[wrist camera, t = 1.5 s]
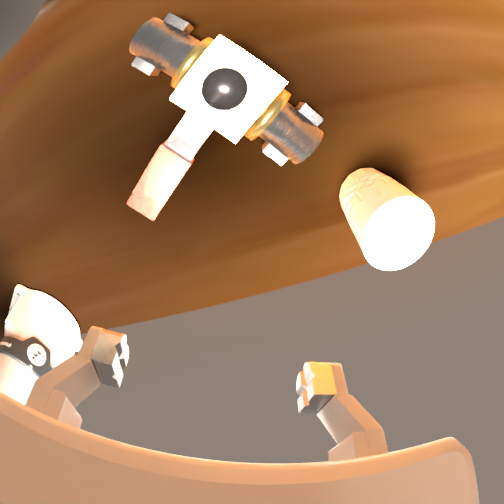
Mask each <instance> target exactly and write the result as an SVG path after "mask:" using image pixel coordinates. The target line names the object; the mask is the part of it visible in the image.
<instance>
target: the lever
mask: <svg viewBox="0 0 504 504" xmlns="http://www.w3.org/2000/svg"><path fill="white" fill-rule="evenodd" d="M201 91H202V92H201V93H200V94H199V96H198V97H197V98H196V100H195V101H194V103H193V104H192V105H191V107H190V108H189V109H188V111H187V112H186V114H185V115H184V116H183V118H182V119H181V121H180V122H179V124H178V125H177V126H176V128H175V129H174V131H173V132H172V134H171V135H170V137H169V138H168V140H166V141H165V142H164V143H162V144H161V145H160V147H159V148H158V150H157V152H156V153H155V155H154V156H153V158H152V160H151V161H150V163H149V165H148V166H147V168H146V170H145V171H144V173H143V175H142V176H141V178H140V180H139V182H138V183H137V185H136V187H135V189H134V191H133V192H132V194H131V196H130V198H129V200H128V202H127V203H126V204H127V205H129V206H130V207H132V208H133V209H135V210H136V211H138V212H140V213H141V214H143V215H144V216H146V217H147V218H149V219H150V220H152V221H154V220H155V218H156V216H157V215H158V213H159V212H160V210H161V209H162V207H163V206H164V204H165V202H166V201H167V199H168V198H169V196H170V195H171V193H172V192H173V190H174V189H175V187H176V186H177V184H178V183H179V181H180V180H181V179H182V177H183V176H184V174H185V173H186V171H187V170H188V168H189V167H190V166H191V164H192V163H193V161H194V160H195V158H193V157H194V155H195V154H196V153H197V151H198V150H199V149H200V147H201V146H202V144H203V143H204V142H205V140H206V139H207V138H208V136H209V135H210V134H211V132H212V131H213V130H214V128H215V127H216V126H217V125H218V123H219V122H220V121H221V119H222V118H223V117H224V116H225V114H226V113H227V112H228V111H229V110H231V109H234V108H236V107H237V106H239V105H240V104H241V103H242V102H243V101H244V100H245V98H246V95H247V92H248V85H247V81H246V79H245V78H244V76H243V75H242V74H241V73H240V72H238V71H237V70H235V69H232V68H218V69H216V70H213V71H212V72H210V73H209V74H208V75H207V76H206V77H205V79H204V81H203V83H202V88H201Z"/></svg>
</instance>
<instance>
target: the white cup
mask: <svg viewBox="0 0 504 504" xmlns="http://www.w3.org/2000/svg"><path fill="white" fill-rule="evenodd" d="M339 199H340V203H341V207H342V209H343V211H344V213H345V215H346V218H347V220H348V222H349V224H350V227H351V229H352V231H353V233H354V235H355V237H356V239H357V241H358V243H359V245H360V247H361V249H362V252H363V254H364V256H365V258H366V259H367V261H368V262H369V263H370V264H371V265H372V266H374V267H376V268H378V269H381V270H386V271H393V270H398V269H402V268H404V267H407V266H409V265H410V264H412V263H413V262H415V261H416V260H417V259H418V258H420V257H421V256H422V255H423V253H424V252H425V251H426V249H427V248H428V246H429V245H430V243H431V240H432V238H433V234H434V229H435V220H434V215H433V212H432V210H431V208H430V207H429V206H428V204H427V203H425V202H424V201H423V200H422V199H420V198H419V197H418V196H416V195H415V194H414V193H412V192H411V191H410V190H408V189H407V188H406V187H404V186H403V185H401V184H400V183H398V182H397V181H395V180H394V179H392V178H391V177H389V176H387V175H385V174H384V173H382V172H380V171H378V170H376V169H374V168H360V169H358V170H356V171H354V172H353V173H351V174H349V175H348V177H347V178H346V179H345V181H344V182H343V183H342V185H341V190H340V194H339Z"/></svg>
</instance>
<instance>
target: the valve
mask: <svg viewBox="0 0 504 504" xmlns="http://www.w3.org/2000/svg"><path fill="white" fill-rule="evenodd" d="M193 29H194V27H193V26H192V25H191V24H190V23H188V22H187V21H185V20H183V19H181V18H179V17H177V16H175V15H173V14H171V13H169V14H168V15H167V16H166V17H165V19H164V20H161V19H159V18H157V17H154V18H151V19H150V20H148V21H147V22H145V23H144V24H143V25H142V26H141V27H140V28H139V29H138V31H137V32H136V33H135V35H134V36H133V38H132V40H131V42H130V45H129V52H130V53H131V54H133V55H135V56H136V58H135V59H134V61H133V62H132V64H131V65H132V66H133V67H135V68H137V69H139V70H141V71H142V72H144V73H146V74H147V75H149V76H158V75H159V74H160V72H161V71H163V72H165V73H166V74H168V75H170V76H171V77H173V78H172V80H171V87H173V88H175V89H176V90H175V91H174V93H173V94H172V95H171V97H170V98H169V100H171V101H172V102H174V103H175V104H177V105H178V106H180V107H181V108H183V109H185V110H186V111H188V109H189V108H190V107H191V105H192V104H193V103H194V101H195V100H196V98H197V97H198V96H199V94H200V93H201V92H202V91H201V88H202V83H203V81H204V79H205V77H206V76H207V75H208V74H209V73H210V72H212V71H213V70H216V69H218V68H232V69H235V70H237V71H238V72H240V73H241V74H242V75H243V76H244V78H245V79H246V81H247V85H248V92H247V95H246V98H245V100H244V101H243V102H242V103H241V104H240V105H239V106H237V107H236V108H234V109H231V110H229V111H228V112H227V113H226V114H225V116H224V117H223V118H222V119H221V121H220V122H219V123H218V125H217V126H216V127H215V128H214V130H216V131H217V132H219V133H220V134H222V135H223V136H224V137H226V138H227V139H229V140H230V141H232V142H233V143H234V144H236V143H237V142H238V141H239V139H240V138H241V137H242V136H243V135H244V136H245V137H247V138H248V139H250V140H251V141H252V140H254V139H255V138H257V137H258V136H259V137H261V138H262V139H263V140H265V142H264V143H263V145H262V151H263V153H265V154H266V155H267V156H269V157H270V158H271V159H273V160H274V161H275V162H276V163H278V164H279V165H280V166H282V165H283V164H284V163H285V162H286V161H287V160H288V159H289V160H290V161H291V162H293V163H294V164H299V163H301V162H303V161H304V160H305V159H307V158H308V157H309V156H310V155H311V154H312V153H313V152H314V150H315V149H316V148H317V147H318V145H319V144H320V142H321V140H322V138H323V135H324V133H323V131H321V130H320V129H319V128H318V125H319V124H320V123H321V122H322V121H323V120H324V119H323V118H322V117H321V116H320V115H318V114H317V113H316V112H315V111H314V110H313V109H312V108H310V107H309V106H308V105H307V104H306V103H303V102H301V101H300V102H299V104H298V105H297V106H296V107H293V106H292V105H291V104H290V103H288V100H289V99H290V97H291V94H290V93H289V92H288V91H286V90H285V89H284V87H285V86H286V85H287V83H288V81H286V80H285V79H284V78H283V77H281V76H280V75H279V74H277V73H276V72H275V71H273V70H272V69H271V68H269V67H268V66H267V65H265V64H264V63H262V62H261V61H260V60H258V59H257V58H255V57H254V56H253V55H251V54H250V53H248V52H247V51H245V50H244V49H242V48H241V47H239V46H238V45H236V44H235V43H233V42H232V41H230V40H228V39H227V38H225V37H224V36H222V35H220V34H219V35H218V36H217V38H216V39H215V40H213V39H212V38H210V37H208V38H205V39H204V40H202V41H199V40H198V39H196V38H194V37H192V36H191V35H189V34H190V33H191V32H192V30H193Z"/></svg>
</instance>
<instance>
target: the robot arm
mask: <svg viewBox="0 0 504 504" xmlns="http://www.w3.org/2000/svg"><path fill="white" fill-rule="evenodd" d="M126 341H127V337H126V335H125V334H121V333H117V332H114V331H110V330H106V329H103V328H99V327H96V326H92V327H91V328H90V329H89V331H88V333H87V335H86V337H85V339H84V342H83V341H82V339H81V336H80V328H79V326H78V323H77V322H76V320H75V318H74V317H73V316H72V314H71V313H70V312H69V311H68V310H67V309H66V308H65V307H64V306H63V305H62V304H61V303H60V302H58V301H57V300H56V299H54V298H53V297H51V296H49V295H48V294H46V293H43V292H41V291H37V290H31V289H28V288H26V287H24V286H22V285H20V284H17V286H16V287H15V290H14V294H13V297H12V301H11V305H10V309H9V313H8V317H7V318H6V320H5V333H4V337H3V338H2V340H1V342H0V504H479V495H478V487H477V480H476V474H475V469H474V464H473V460H472V457H471V455H470V452H469V451H468V450H467V449H466V448H465V447H464V446H463V445H462V444H461V443H460V442H459V441H458V440H456V439H455V438H453V437H446V438H443V439H440V440H437V441H433V442H430V443H427V444H423V445H419V446H415V447H412V448H407V449H403V450H398V451H394V452H389V453H388V448H387V444H386V440H385V435H384V431H383V428H382V427H381V426H380V425H379V424H378V423H377V422H376V421H375V419H374V418H373V417H372V416H371V415H370V414H369V413H368V412H367V411H366V410H365V409H364V408H363V407H362V406H361V404H360V403H358V401H357V400H356V399H355V398H354V397H353V396H352V395H349V394H348V390H347V386H346V381H345V377H344V373H343V369H342V365H341V364H340V363H328V362H327V363H326V362H306V363H305V365H304V370H303V371H301V372H300V373H299V375H298V377H297V382H296V390H297V393H298V394H299V395H300V398H299V399H298V409H299V413H307V414H317V416H318V417H319V419H320V420H321V421H322V423H323V424H324V426H325V427H326V428H327V430H328V431H329V433H330V434H331V436H332V437H333V438H334V440H335V441H336V442H337V444H338V445H336V446H335V447H334V448H332V449H331V450H330V451H329V452H328V457H329V461H327V462H314V463H291V464H263V463H240V462H227V461H216V460H207V459H200V458H192V457H186V456H180V455H174V454H169V453H163V452H158V451H154V450H149V449H145V448H141V447H137V446H133V445H129V444H125V443H122V442H118V441H115V440H111V439H108V438H105V437H102V436H99V435H95V434H93V433H90V432H87V431H84V430H81V429H80V426H81V423H82V418H81V416H80V415H79V414H78V412H77V411H76V410H75V408H76V407H77V406H78V405H79V404H80V403H81V402H82V401H83V400H84V399H86V398H87V397H88V396H89V395H90V394H91V393H92V392H93V391H95V390H96V389H97V388H98V387H99V386H100V385H101V383H102V384H105V385H109V386H113V387H117V388H120V385H121V382H122V378H123V372H122V369H124V368H125V367H126V366H127V362H128V357H129V347H128V345H127V344H126ZM78 351H79V352H78ZM75 352H78V355H74V353H75Z"/></svg>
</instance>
